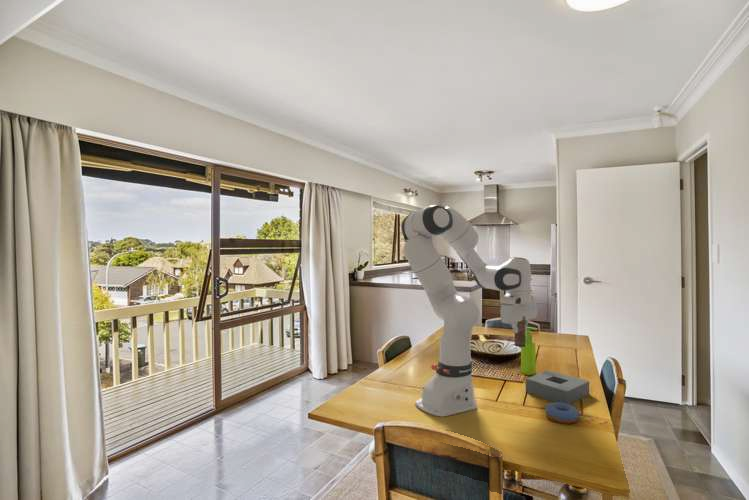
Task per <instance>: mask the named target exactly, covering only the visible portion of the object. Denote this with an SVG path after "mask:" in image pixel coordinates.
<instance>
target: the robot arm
mask: <svg viewBox="0 0 749 500" xmlns="http://www.w3.org/2000/svg"><path fill="white" fill-rule="evenodd" d="M400 228H401V233H402V235H403V239H404V241H405V243H404V245H403V252H404V255H405V258H406V259H407V262H408V264H409V266H410V268H411V270H412V271H413V273H414V275H415V277H416V279H418V281H419V283H420V285H421V286H422V288H423V290H424V291H425V293H426V296H427V298H428V300H429V303H430V305H431V307H432V308H433V309H432V310H433V312H434V313H435V315H436V316H437V318H440V319H441V320H442V321H443V322H444V323H443V331H442V334H441V337H440V339H439V341H438V342H439V360H438V363H437V364H436V363H432V364H431V366H430V369H431V370H433V371H435V373H434V375H433V376H432V377H431V378H430V379H429V380H428V382H426V384H424V386H423V388H422V393H421V394H422V395H421V397H420V398H418V399H417V400H415V405H416V407H417V408H419V410H422V411H423V412H425V413H427V414H430V415H433V416H436V417H448V416H451V415H452V416H453V415H456V414H461V413H464V412H469V411H472V410H476V409H478V405H477V403H476V402H477V400H476V397H475V391H474V382H473V378H472V373H473V364H472V361H471V360H472V358H471V357H472V356H471V351H472V349H471V342H472V341H471V340H472V336H473V331H474V327H475V325H476V324H477V322H478V321H479V319H480V308H479V307H478V305H477V304H476V303H475V301H474V300H472V299H471V298H469V297H468V296H465V295H462V294H460V293H459V292H458V291H457V289H456V287H455V285H454V284H455V283H454V282H453V275H452V273H451V271H450V269H449V268H448V266H447V265H446V263H445V261H444V260H443V258H442V256H441V255H440V253H439V252H438V251H437V249H436V248H435V244H434V242H433V238H434V237H436V236H441V237H442V238H443V239H444V240H445V241H446V243H447V244H448V245H449V246H450V247H451V248H452V249H453V250H454V251H455V253H456V254H457V255H458V257H459V258H460V259H461V260H462V261H463V263H464V264H465V266H466V267H467V268H468V269H469V270H470V271H471V273H472V275H473V278H474V280H475V282H476V284H477V285H478V287H480V288H481V289H484V290H485V289H486V290H493V291H494V290H495V291H498V292H500V291H501V292H505V291H507V293H505V294H504V295H503V296H501V297H500V299H499V302H500V304H501V305H500V321H501V323H502V324H506V325H510V326H511V328H512V332H513V334H515V333H519V328H517V324H518V322H520V321H522V320H523V317H524V316H525V332H526V330H527V327H528V324H529V320H531V319H536V318H537V316H538V307H537V305H538V304H537V302H536V298H535V297H534V296H533V295H532V288H531V282H532V267H531V264H530V261H529V260H528V259H527V258H525V257H518V256H512V257H511V256H510V257H509V259H508V260H507V261H505V262H504V263H502V264H499V265H492V264H488V263H486V262H485V261H483V259H482V258H481V257H480V255H479V254H478V252H476V250H475V248H476V246H477V245H478V243H479V234H478V232H477V230H476V229H475V227H474V226H473V225H472V224H471V222H469V220H468V219H466V217H464V216H463V215H462V214H461V212H459V211H457V210H456V209H455V208H453V207H450V206H443V205H441V204H434V205H433V204H432V205H428V206H427V207H424V208H420V209H418V210H416V211H413V212H411V213H409V214H407V216H405V217H404V219H402V222H401V226H400Z"/></svg>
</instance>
